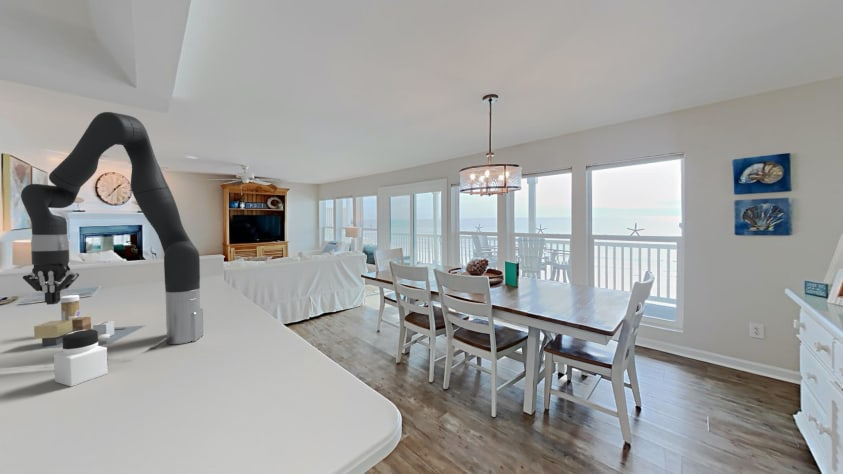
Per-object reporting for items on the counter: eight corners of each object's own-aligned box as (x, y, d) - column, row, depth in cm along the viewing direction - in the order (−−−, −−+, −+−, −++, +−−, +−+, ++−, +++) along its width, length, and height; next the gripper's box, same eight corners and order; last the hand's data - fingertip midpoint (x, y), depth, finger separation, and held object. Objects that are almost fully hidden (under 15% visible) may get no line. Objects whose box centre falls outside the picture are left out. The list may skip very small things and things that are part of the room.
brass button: (72, 331, 100) (72, 319, 100) (57, 337, 95) (56, 325, 94) (51, 332, 99) (50, 321, 98) (34, 338, 93) (34, 326, 93)
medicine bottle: (108, 373, 81) (107, 329, 80) (70, 387, 74) (68, 338, 73) (92, 369, 83) (91, 325, 82) (54, 382, 76) (52, 334, 76)
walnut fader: (91, 329, 109) (90, 316, 109) (82, 332, 106) (82, 319, 106) (79, 329, 109) (78, 317, 108) (70, 333, 105) (69, 320, 105)
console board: (146, 329, 114) (146, 316, 114) (110, 348, 97) (109, 333, 97) (80, 333, 110) (79, 320, 109) (30, 354, 92) (29, 339, 92)
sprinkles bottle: (78, 333, 110) (76, 296, 109) (59, 335, 107) (57, 298, 107) (82, 329, 114) (81, 294, 113) (64, 332, 111) (63, 295, 111)
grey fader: (114, 334, 104) (113, 320, 104) (106, 337, 101) (106, 324, 101) (101, 335, 104) (101, 321, 103) (93, 338, 100) (93, 324, 100)
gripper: (86, 248, 101) (88, 300, 101) (35, 248, 98) (37, 302, 98) (66, 249, 94) (68, 305, 94) (10, 250, 90) (13, 308, 91)
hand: (52, 303), depth 96 cm, fingers closed
